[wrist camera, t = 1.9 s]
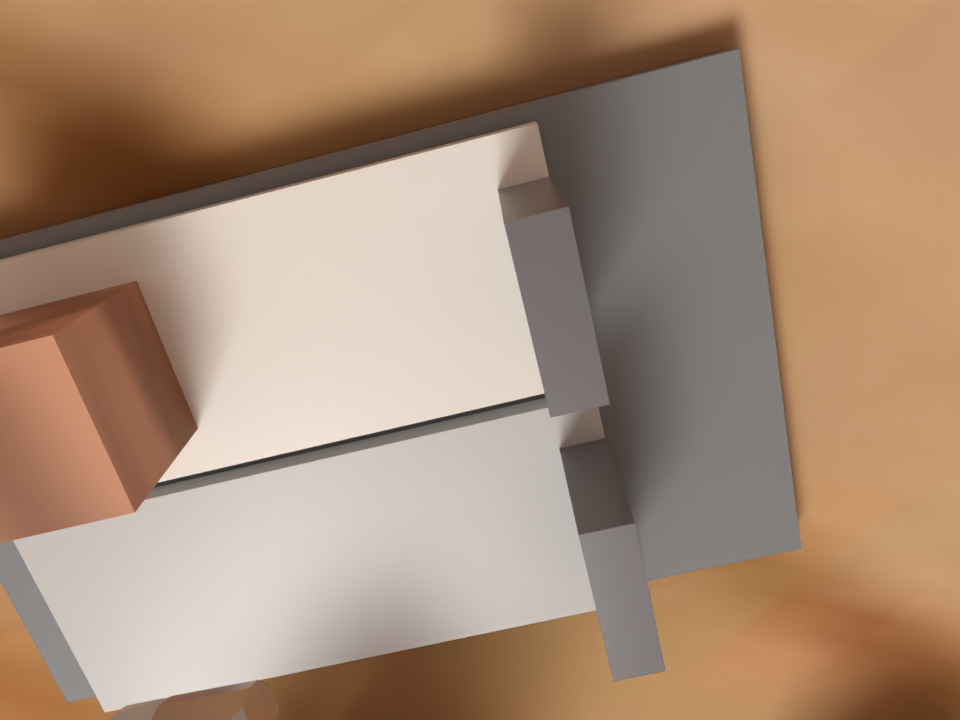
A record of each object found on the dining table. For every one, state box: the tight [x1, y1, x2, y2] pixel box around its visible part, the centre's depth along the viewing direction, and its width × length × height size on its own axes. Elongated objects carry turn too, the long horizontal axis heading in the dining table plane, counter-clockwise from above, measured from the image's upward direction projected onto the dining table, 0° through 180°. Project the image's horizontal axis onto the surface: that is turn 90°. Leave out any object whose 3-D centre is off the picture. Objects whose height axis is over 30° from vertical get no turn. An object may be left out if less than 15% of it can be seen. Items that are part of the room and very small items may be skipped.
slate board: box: [0, 49, 801, 702], centre depth 27 cm, size 28×17×1 cm, turn 104°
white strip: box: [0, 121, 610, 482], centre depth 22 cm, size 20×8×6 cm, turn 104°
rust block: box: [0, 281, 198, 543], centre depth 22 cm, size 5×5×5 cm
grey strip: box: [13, 398, 665, 712], centre depth 25 cm, size 20×8×6 cm, turn 104°
